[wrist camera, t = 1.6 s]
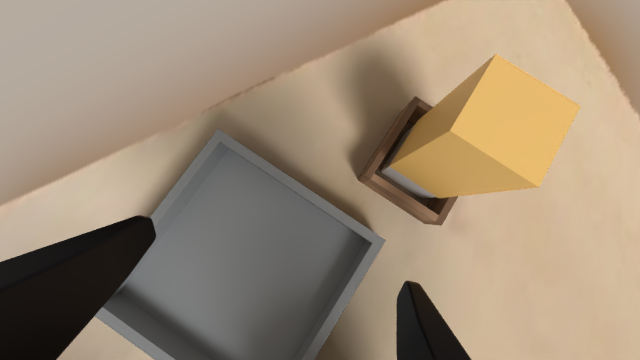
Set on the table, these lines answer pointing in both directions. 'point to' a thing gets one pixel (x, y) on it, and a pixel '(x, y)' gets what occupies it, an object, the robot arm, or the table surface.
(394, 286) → the table surface
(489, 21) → the table surface
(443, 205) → the frame
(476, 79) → the amber block
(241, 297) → the tray
